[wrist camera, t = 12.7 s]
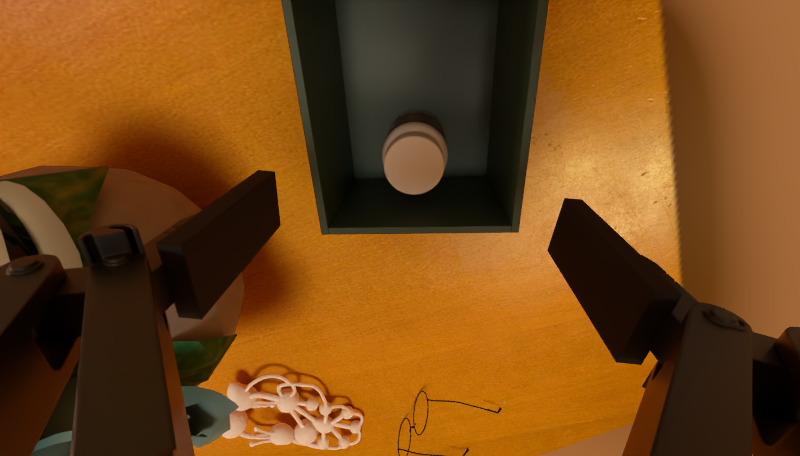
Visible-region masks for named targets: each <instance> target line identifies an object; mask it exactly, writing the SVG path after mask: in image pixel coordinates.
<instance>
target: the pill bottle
mask: <svg viewBox="0 0 800 456" xmlns="http://www.w3.org/2000/svg"><path fill="white" fill-rule="evenodd" d="M447 159H448V151H447V145H446V141H445V136H444V132H443V129H442V126H441V124H440V123H439V121H438V120H437V119H436V118H435V117H434V116H433V115H432V114H430V113H429V112H426V111H423V110H410V111H407V112H405V113H403V114H401V115H400V116H399V117H397V119H396V120H395V121H394V122H393V124H392V126H391V128H390V130H389V132H388V135H387V138H386V140H385V142H384V145H383V149H382V161H383V165H384V172H385V175H386V177H387V179H388V181H389V182H390V184H391V185H392V186H393V187H394V188H395V189H397V190H399V191H401V192H403V193H406V194H412V195H415V194H422V193H425V192H427V191H429V190H431V189H432V188H434V187H435V186H436V185H437V184H438V182H439V181H440V179H441V177H442V175H443V172H444V169H445V167H446V164H447Z"/></svg>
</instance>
